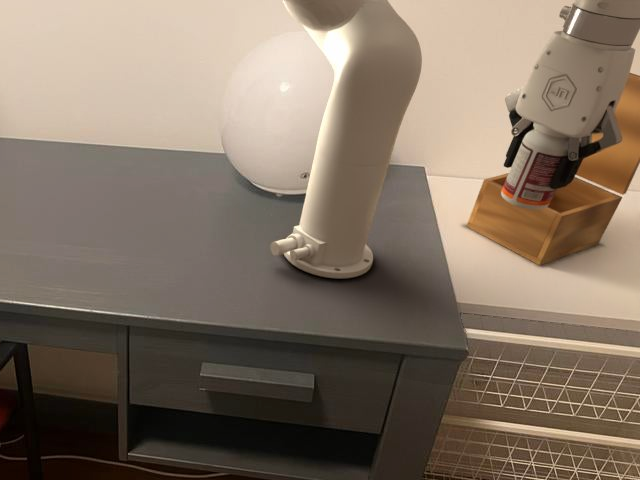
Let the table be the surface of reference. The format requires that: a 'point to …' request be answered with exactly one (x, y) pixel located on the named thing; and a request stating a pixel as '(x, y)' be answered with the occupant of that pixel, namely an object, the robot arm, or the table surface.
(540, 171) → the pill bottle
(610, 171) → the lid
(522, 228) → the chest
